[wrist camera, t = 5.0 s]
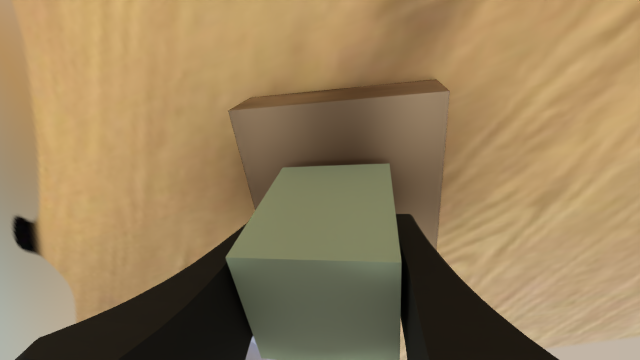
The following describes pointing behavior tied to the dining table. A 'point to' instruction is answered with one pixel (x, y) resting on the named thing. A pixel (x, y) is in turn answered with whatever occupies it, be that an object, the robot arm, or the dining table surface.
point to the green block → (322, 265)
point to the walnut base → (352, 139)
